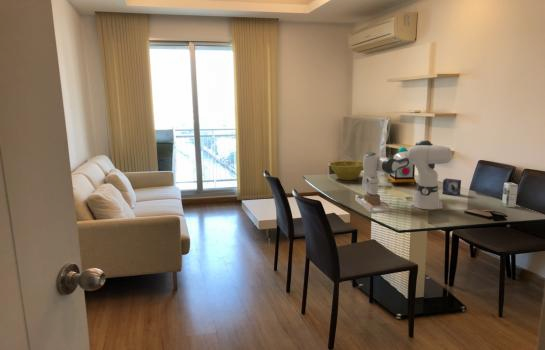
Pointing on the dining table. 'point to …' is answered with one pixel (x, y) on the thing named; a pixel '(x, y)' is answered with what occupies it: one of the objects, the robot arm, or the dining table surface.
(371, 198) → the walnut block
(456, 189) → the small box
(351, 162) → the planter bowl
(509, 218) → the dining table surface
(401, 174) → the decorative lantern
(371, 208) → the grey chute
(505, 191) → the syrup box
